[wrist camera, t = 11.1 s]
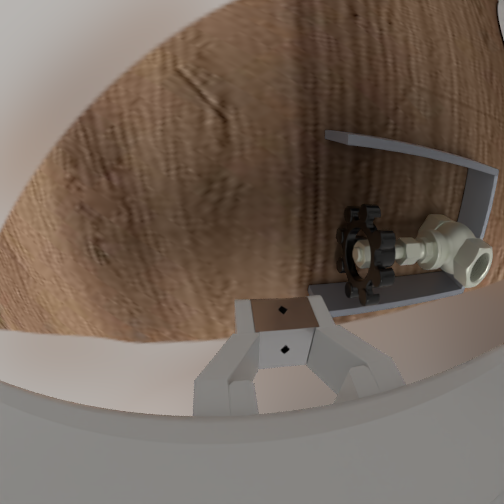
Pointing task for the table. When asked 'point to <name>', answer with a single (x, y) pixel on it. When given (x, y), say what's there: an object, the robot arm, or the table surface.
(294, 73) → the table surface
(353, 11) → the table surface
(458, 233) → the valve
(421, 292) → the valve dock
